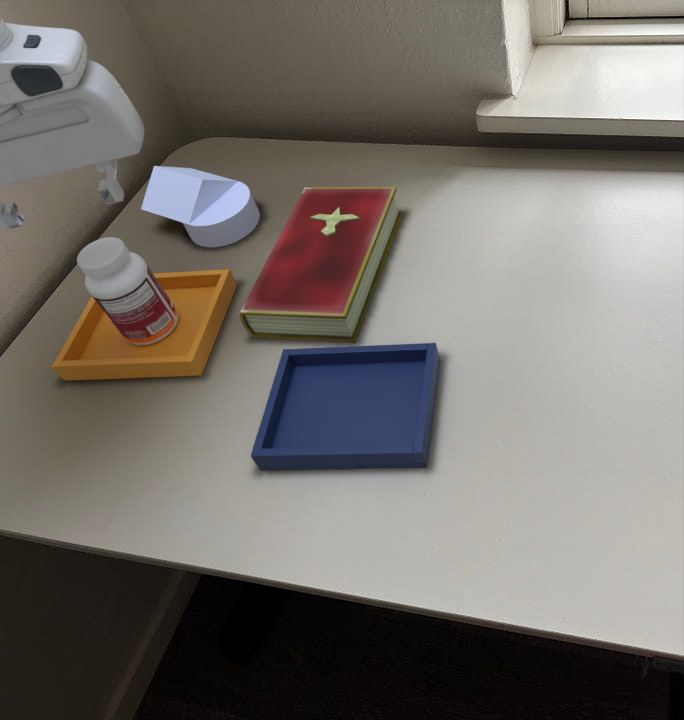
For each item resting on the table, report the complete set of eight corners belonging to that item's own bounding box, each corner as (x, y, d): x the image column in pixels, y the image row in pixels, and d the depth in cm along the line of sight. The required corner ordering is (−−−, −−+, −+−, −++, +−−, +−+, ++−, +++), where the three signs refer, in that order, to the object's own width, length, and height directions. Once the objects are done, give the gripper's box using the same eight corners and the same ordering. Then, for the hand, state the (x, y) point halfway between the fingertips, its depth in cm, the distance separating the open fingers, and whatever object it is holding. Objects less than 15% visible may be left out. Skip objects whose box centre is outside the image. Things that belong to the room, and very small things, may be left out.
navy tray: (259, 470, 66) (250, 456, 64) (290, 364, 74) (283, 349, 72) (426, 467, 63) (421, 452, 62) (440, 358, 72) (436, 342, 70)
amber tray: (64, 381, 76) (51, 366, 74) (113, 290, 85) (102, 276, 83) (201, 375, 74) (191, 360, 72) (237, 284, 83) (229, 268, 81)
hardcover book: (250, 337, 77) (234, 310, 74) (311, 212, 90) (301, 185, 87) (355, 342, 74) (344, 314, 71) (402, 213, 87) (395, 184, 84)
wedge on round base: (153, 230, 92) (226, 254, 87) (127, 186, 87) (203, 210, 82) (201, 189, 96) (274, 210, 91) (179, 146, 91) (254, 165, 86)
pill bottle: (132, 310, 81) (79, 235, 73) (185, 303, 81) (138, 227, 73) (118, 351, 77) (60, 277, 69) (173, 344, 77) (122, 268, 69)
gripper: (-181, 124, 54) (-54, 260, 65) (88, 61, 55) (170, 205, 66) (-152, 84, 58) (-37, 218, 69) (98, 26, 59) (173, 167, 70)
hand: (66, 211), depth 67 cm, fingers open, 8 cm apart
